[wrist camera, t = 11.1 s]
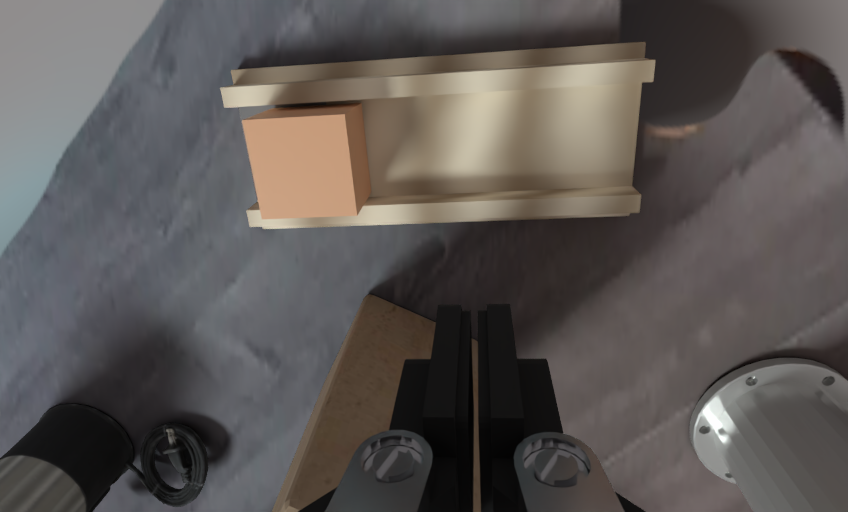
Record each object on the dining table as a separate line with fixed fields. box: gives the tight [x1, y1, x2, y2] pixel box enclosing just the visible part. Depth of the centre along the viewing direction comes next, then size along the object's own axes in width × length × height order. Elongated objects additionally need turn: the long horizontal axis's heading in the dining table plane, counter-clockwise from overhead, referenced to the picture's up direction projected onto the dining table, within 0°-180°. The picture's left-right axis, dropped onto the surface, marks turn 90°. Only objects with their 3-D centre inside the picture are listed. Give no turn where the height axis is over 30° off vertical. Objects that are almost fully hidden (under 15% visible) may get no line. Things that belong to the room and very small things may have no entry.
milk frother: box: [0, 404, 208, 512], centre depth 42 cm, size 14×16×15 cm
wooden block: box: [272, 294, 481, 512], centre depth 34 cm, size 10×10×20 cm
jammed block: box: [242, 103, 371, 219], centre depth 32 cm, size 6×6×5 cm
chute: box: [220, 42, 655, 229], centre depth 34 cm, size 26×11×3 cm, turn 94°
